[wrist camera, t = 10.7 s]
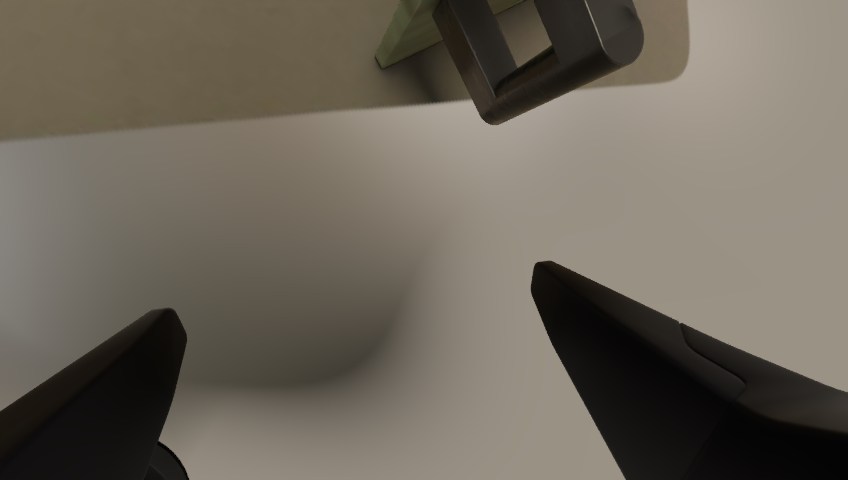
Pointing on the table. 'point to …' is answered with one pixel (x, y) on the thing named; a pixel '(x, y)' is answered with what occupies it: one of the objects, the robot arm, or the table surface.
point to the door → (492, 60)
